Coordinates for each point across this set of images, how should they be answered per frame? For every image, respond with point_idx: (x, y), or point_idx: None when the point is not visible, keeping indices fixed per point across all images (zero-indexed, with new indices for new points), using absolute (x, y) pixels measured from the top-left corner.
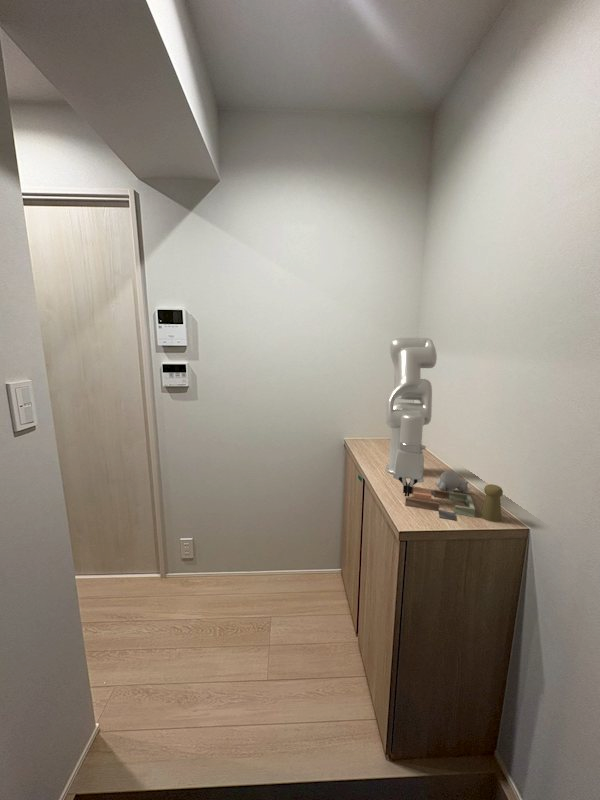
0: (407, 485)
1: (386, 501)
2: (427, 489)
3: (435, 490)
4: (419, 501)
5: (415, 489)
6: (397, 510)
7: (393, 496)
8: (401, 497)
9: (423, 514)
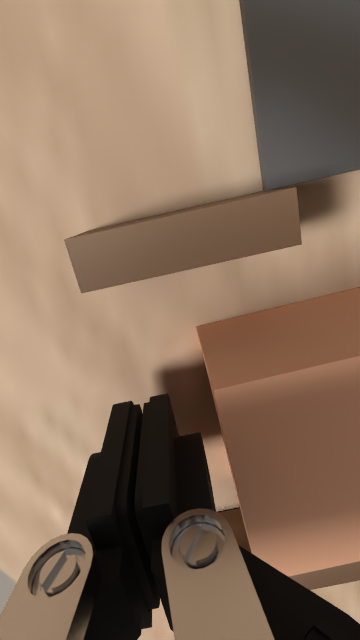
0: (145, 575)
1: (16, 559)
2: None
3: None
4: (321, 580)
5: (263, 472)
6: (153, 627)
7: (18, 443)
8: (97, 420)
9: (337, 586)
